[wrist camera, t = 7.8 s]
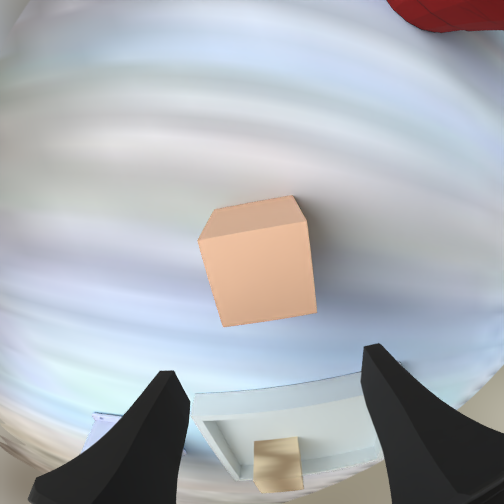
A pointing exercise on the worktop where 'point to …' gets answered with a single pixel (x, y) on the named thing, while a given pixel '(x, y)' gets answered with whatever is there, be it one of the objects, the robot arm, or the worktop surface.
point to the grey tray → (291, 424)
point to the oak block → (277, 465)
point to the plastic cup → (451, 14)
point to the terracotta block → (259, 261)
